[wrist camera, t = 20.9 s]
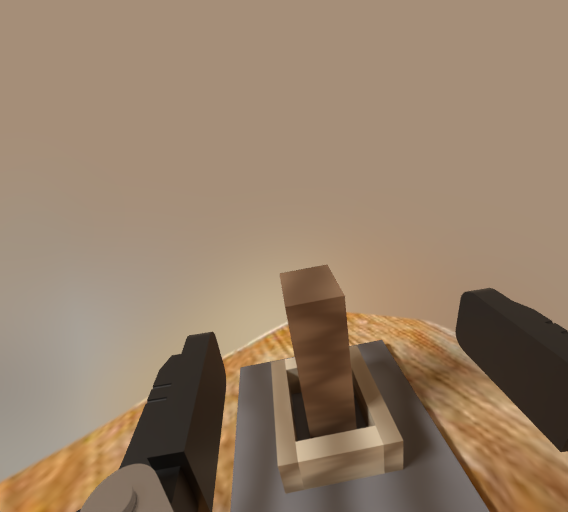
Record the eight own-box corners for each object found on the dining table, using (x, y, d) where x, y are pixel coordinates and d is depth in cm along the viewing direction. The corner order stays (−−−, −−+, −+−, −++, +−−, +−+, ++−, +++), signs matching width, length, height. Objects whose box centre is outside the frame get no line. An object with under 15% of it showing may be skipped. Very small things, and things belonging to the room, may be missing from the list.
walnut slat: (312, 450, 24) (285, 306, 18) (304, 401, 29) (279, 273, 23) (357, 441, 24) (344, 295, 19) (341, 393, 29) (327, 264, 23)
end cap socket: (229, 581, 19) (211, 548, 17) (242, 373, 35) (234, 345, 33) (492, 526, 19) (501, 488, 17) (382, 346, 35) (381, 317, 34)
